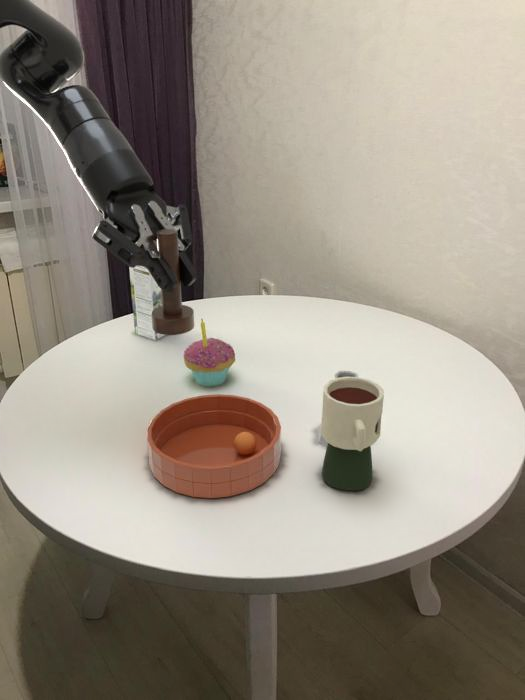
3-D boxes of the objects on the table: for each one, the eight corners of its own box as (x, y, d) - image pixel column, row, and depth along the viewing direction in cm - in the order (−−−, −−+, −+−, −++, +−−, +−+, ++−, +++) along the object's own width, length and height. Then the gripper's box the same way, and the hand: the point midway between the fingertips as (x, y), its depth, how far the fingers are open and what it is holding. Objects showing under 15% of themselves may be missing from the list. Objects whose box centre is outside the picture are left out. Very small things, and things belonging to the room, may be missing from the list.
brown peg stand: (152, 336, 71) (143, 238, 66) (152, 320, 75) (144, 227, 70) (195, 333, 71) (190, 236, 66) (193, 317, 76) (188, 225, 71)
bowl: (149, 509, 70) (145, 474, 67) (150, 429, 85) (147, 399, 83) (291, 493, 72) (292, 460, 70) (268, 419, 87) (268, 389, 85)
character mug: (385, 507, 70) (396, 413, 64) (325, 510, 69) (331, 416, 64) (364, 453, 80) (372, 367, 74) (312, 455, 79) (316, 369, 74)
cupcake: (224, 396, 93) (221, 327, 88) (175, 388, 96) (170, 320, 91) (242, 372, 101) (241, 307, 95) (197, 365, 103) (194, 301, 98)
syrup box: (155, 325, 119) (149, 256, 113) (177, 332, 116) (172, 261, 110) (134, 334, 115) (127, 263, 109) (156, 342, 112) (150, 268, 106)
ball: (235, 460, 77) (234, 441, 76) (232, 447, 80) (232, 428, 79) (258, 458, 78) (258, 439, 76) (254, 445, 80) (254, 426, 79)
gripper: (67, 152, 64) (149, 283, 62) (164, 142, 74) (238, 255, 72) (48, 196, 69) (123, 317, 68) (141, 180, 79) (209, 287, 77)
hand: (182, 285), depth 70 cm, fingers closed on brown peg stand, 2 cm apart
